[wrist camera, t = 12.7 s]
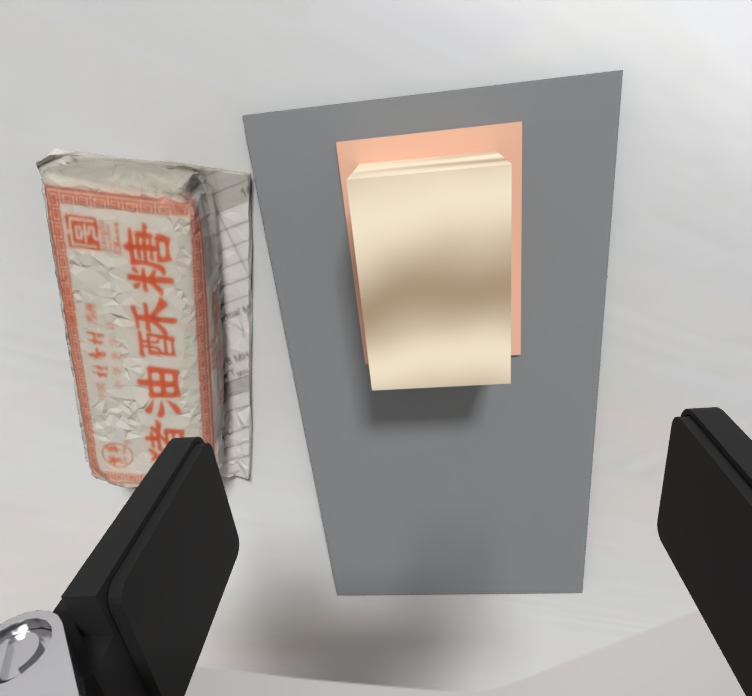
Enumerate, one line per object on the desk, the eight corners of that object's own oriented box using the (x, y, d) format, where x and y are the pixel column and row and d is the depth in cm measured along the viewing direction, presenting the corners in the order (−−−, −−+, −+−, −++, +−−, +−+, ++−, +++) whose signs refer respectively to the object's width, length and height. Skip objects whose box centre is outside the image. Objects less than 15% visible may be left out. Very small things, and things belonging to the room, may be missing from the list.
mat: (338, 588, 37) (336, 598, 36) (246, 115, 24) (240, 115, 23) (579, 585, 35) (583, 595, 34) (618, 70, 22) (624, 70, 22)
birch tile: (359, 164, 24) (346, 180, 20) (496, 150, 23) (511, 164, 19) (379, 346, 28) (371, 390, 24) (497, 339, 27) (510, 383, 23)
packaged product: (-22, 156, 22) (223, 185, 21) (52, 144, 26) (256, 169, 26) (51, 500, 29) (230, 525, 29) (99, 447, 34) (255, 468, 34)
